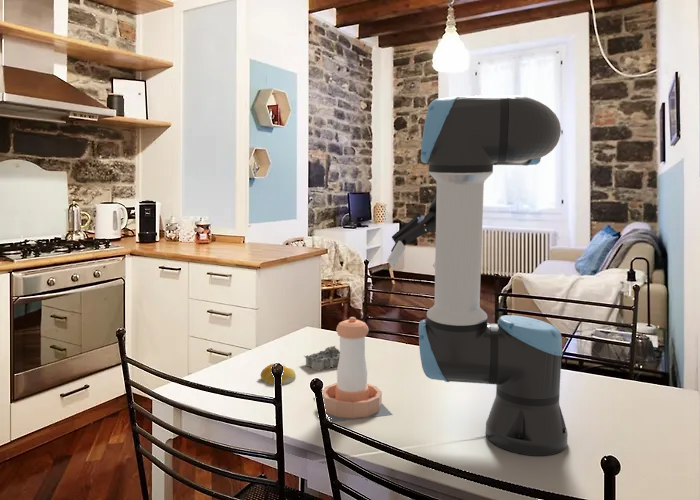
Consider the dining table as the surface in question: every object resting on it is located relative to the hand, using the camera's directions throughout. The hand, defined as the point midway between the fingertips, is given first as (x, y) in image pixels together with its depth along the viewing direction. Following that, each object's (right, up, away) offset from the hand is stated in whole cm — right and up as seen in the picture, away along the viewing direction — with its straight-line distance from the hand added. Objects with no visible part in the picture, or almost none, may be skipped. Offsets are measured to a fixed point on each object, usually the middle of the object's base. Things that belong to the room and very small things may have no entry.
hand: (412, 266), depth 132 cm
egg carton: (-22, -28, +20) cm, 41 cm away
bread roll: (-33, -29, +7) cm, 45 cm away
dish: (-15, -30, -11) cm, 35 cm away
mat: (-15, -31, -11) cm, 36 cm away
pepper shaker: (-15, -30, -11) cm, 35 cm away
